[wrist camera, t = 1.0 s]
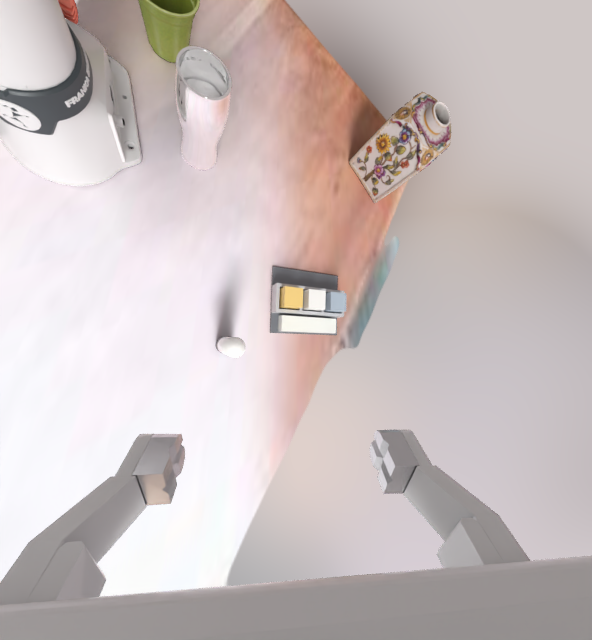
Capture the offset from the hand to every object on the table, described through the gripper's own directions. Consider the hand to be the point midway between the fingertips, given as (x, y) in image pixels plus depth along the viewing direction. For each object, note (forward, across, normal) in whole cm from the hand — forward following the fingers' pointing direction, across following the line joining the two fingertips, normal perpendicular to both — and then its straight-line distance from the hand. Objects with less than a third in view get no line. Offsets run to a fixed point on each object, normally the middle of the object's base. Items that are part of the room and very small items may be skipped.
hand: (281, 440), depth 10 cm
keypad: (+40, -7, +10) cm, 42 cm away
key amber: (+37, -3, +9) cm, 38 cm away
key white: (+38, -7, +10) cm, 40 cm away
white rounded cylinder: (+31, +8, +16) cm, 36 cm away
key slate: (+39, -12, +10) cm, 42 cm away
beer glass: (+47, +14, -14) cm, 52 cm away
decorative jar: (+62, -24, -16) cm, 69 cm away
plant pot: (+55, +20, -31) cm, 66 cm away
